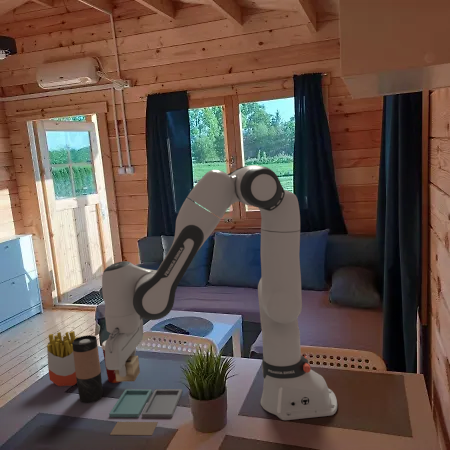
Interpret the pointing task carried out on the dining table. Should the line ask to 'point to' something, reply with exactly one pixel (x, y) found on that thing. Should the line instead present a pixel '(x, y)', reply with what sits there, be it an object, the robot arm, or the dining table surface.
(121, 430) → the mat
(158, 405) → the gray bin
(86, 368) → the travel mug
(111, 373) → the paper cup
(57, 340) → the french fries container
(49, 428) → the dining table surface
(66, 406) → the dining table surface
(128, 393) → the teal bin
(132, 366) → the letter cube
